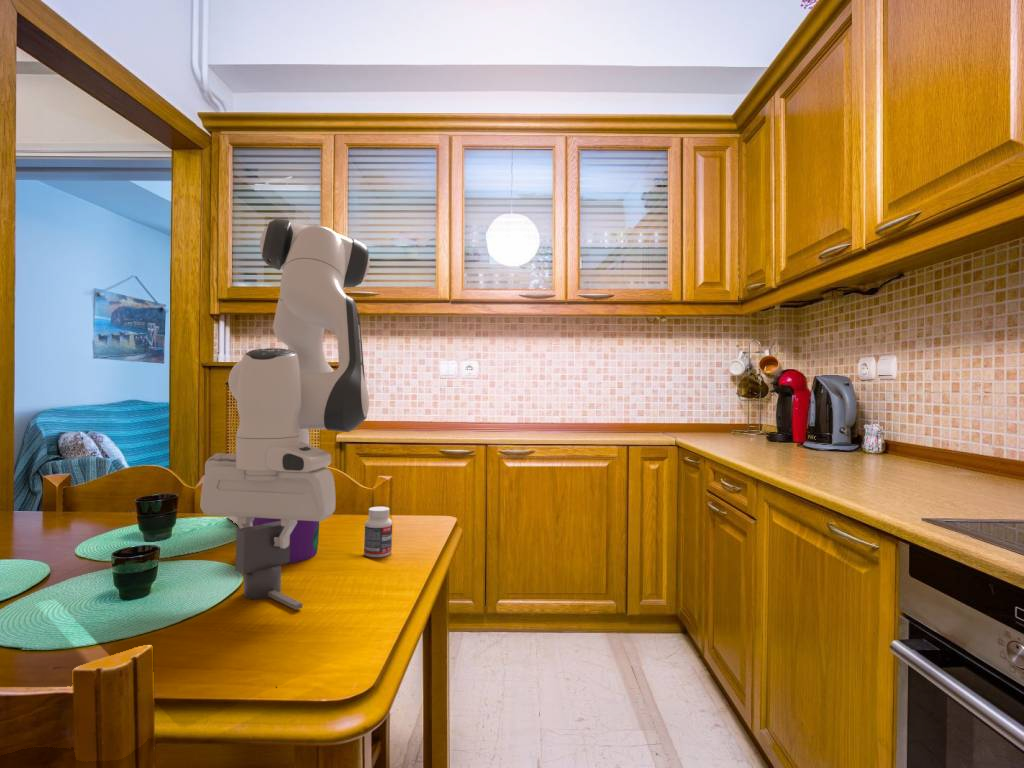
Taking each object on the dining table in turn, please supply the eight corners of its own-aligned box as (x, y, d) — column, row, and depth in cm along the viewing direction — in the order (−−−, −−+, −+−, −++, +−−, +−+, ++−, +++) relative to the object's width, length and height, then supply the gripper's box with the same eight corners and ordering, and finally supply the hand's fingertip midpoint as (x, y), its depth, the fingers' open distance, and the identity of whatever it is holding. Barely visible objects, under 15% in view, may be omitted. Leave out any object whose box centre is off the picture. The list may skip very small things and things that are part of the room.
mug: (315, 572, 92) (316, 516, 92) (245, 578, 89) (245, 519, 89) (324, 544, 109) (325, 496, 109) (265, 547, 106) (266, 498, 106)
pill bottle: (384, 559, 99) (385, 512, 100) (359, 556, 101) (360, 510, 101) (395, 550, 105) (397, 506, 105) (371, 548, 106) (372, 504, 106)
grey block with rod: (230, 595, 77) (232, 527, 77) (276, 582, 83) (277, 519, 83) (274, 619, 70) (276, 544, 70) (321, 603, 75) (323, 533, 75)
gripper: (190, 455, 77) (189, 548, 77) (320, 460, 74) (319, 557, 74) (220, 450, 83) (218, 536, 83) (341, 454, 81) (339, 544, 81)
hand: (266, 546), depth 79 cm, fingers closed on grey block with rod, 3 cm apart
